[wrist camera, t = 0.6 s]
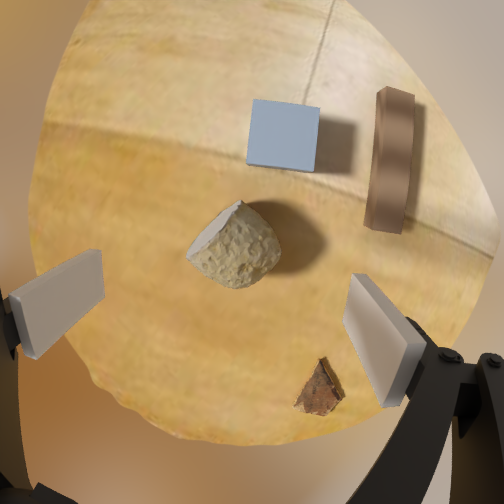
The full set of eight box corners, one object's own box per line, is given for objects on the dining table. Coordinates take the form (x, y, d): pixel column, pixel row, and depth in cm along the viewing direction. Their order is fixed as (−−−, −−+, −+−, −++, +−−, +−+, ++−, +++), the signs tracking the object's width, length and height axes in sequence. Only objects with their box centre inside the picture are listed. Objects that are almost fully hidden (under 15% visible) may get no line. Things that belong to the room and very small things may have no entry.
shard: (318, 354, 42) (320, 360, 40) (360, 364, 42) (363, 371, 40) (289, 403, 44) (290, 410, 43) (328, 411, 45) (330, 418, 43)
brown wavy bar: (376, 92, 32) (386, 86, 28) (402, 100, 32) (414, 94, 28) (363, 225, 36) (372, 230, 33) (389, 229, 36) (401, 234, 33)
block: (254, 111, 33) (253, 99, 28) (310, 118, 33) (319, 107, 28) (248, 165, 35) (245, 163, 29) (305, 172, 35) (313, 171, 29)
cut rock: (224, 169, 29) (286, 246, 26) (248, 199, 38) (296, 258, 36) (154, 229, 30) (205, 309, 27) (193, 244, 39) (236, 305, 37)
